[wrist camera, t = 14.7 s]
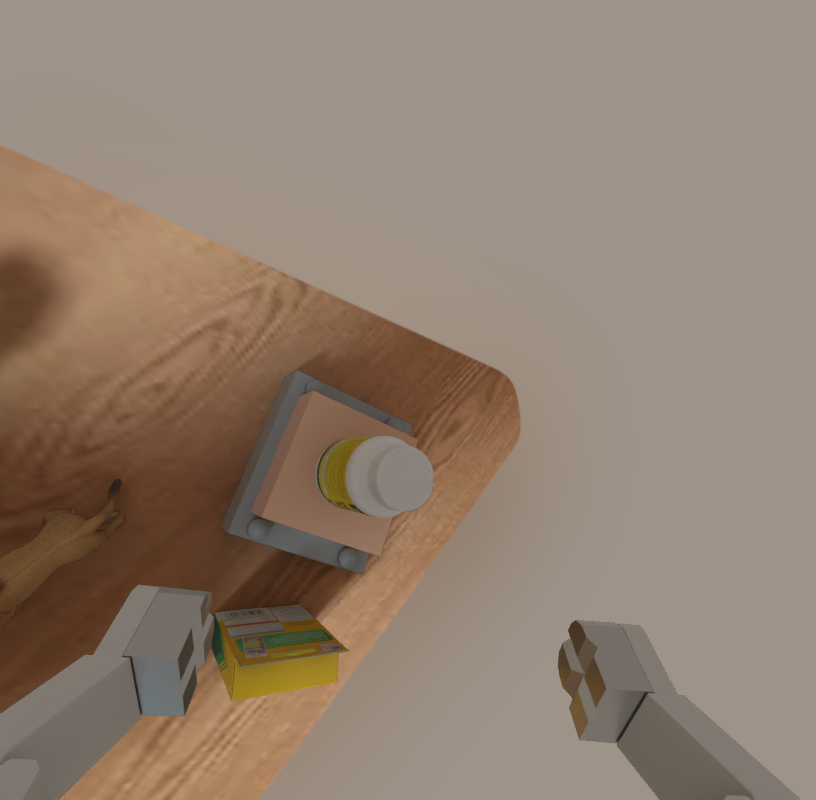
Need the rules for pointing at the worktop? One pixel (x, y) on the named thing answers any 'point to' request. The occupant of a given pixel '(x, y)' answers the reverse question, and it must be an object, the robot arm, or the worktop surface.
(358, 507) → the supplement bottle
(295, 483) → the brick tower
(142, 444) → the worktop surface
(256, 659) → the crayon box
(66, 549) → the lion figurine
